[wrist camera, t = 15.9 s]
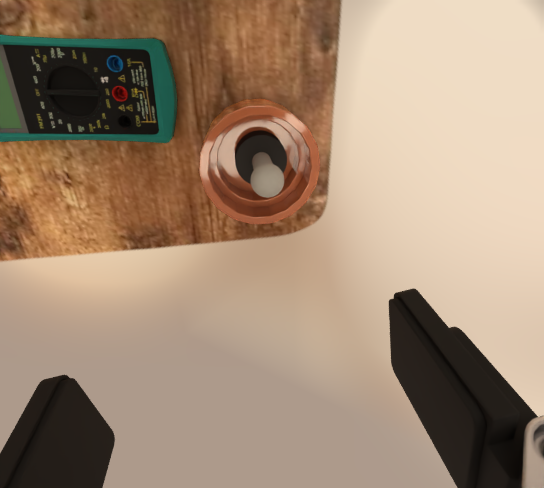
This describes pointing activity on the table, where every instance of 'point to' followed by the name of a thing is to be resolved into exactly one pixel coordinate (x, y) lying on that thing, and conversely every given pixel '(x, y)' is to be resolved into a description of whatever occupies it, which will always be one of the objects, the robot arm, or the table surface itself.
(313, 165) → the basin bowl
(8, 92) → the digital multimeter
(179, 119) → the table surface
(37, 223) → the table surface
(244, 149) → the stopper
